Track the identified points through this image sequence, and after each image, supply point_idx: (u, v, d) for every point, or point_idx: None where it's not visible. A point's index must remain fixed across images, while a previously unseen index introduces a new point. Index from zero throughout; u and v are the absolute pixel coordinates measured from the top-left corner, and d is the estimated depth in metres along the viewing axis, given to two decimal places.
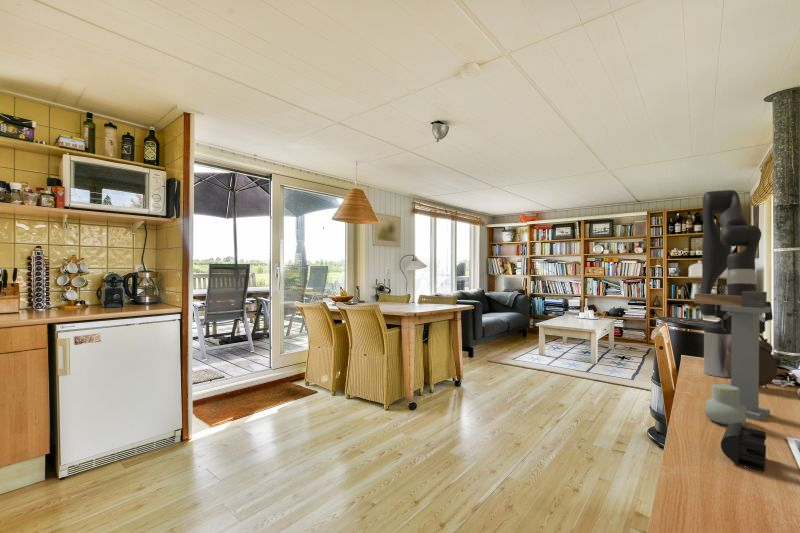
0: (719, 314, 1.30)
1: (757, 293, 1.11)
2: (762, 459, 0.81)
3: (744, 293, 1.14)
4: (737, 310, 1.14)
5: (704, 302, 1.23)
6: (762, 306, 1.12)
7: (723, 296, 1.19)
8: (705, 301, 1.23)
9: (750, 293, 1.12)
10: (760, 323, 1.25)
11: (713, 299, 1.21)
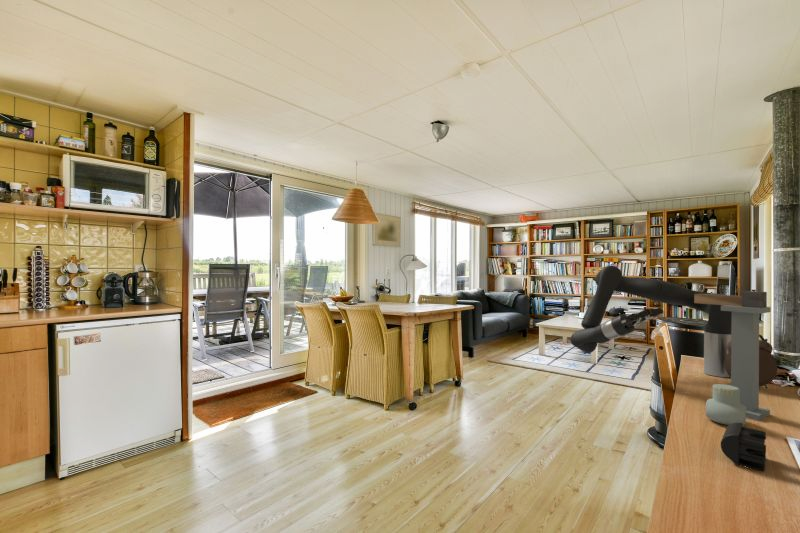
0: (652, 318, 1.47)
1: (757, 293, 1.11)
2: (762, 459, 0.81)
3: (744, 293, 1.14)
4: (737, 310, 1.14)
5: (704, 302, 1.23)
6: (762, 306, 1.12)
7: (723, 296, 1.19)
8: (705, 301, 1.23)
9: (750, 293, 1.12)
10: None
11: (713, 299, 1.21)
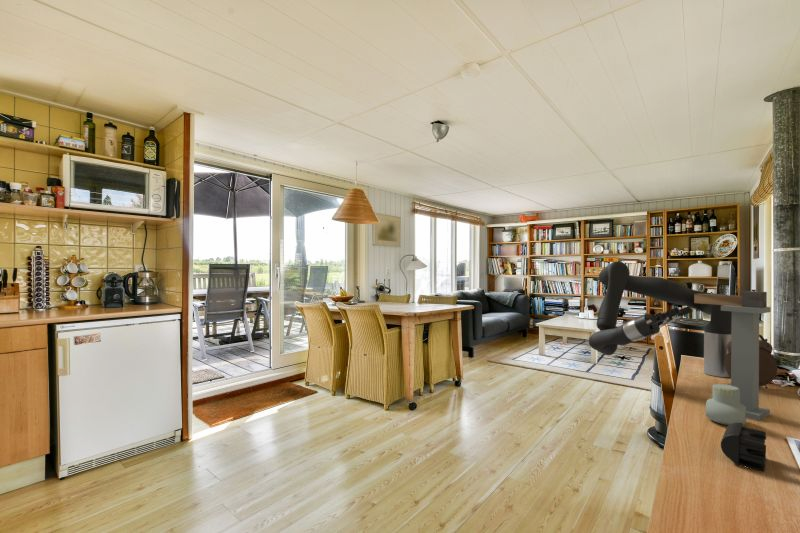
0: (679, 318, 1.36)
1: (757, 293, 1.11)
2: (762, 459, 0.81)
3: (744, 293, 1.14)
4: (737, 310, 1.14)
5: (704, 302, 1.23)
6: (762, 306, 1.12)
7: (723, 296, 1.19)
8: (705, 301, 1.23)
9: (750, 293, 1.12)
10: None
11: (713, 299, 1.21)
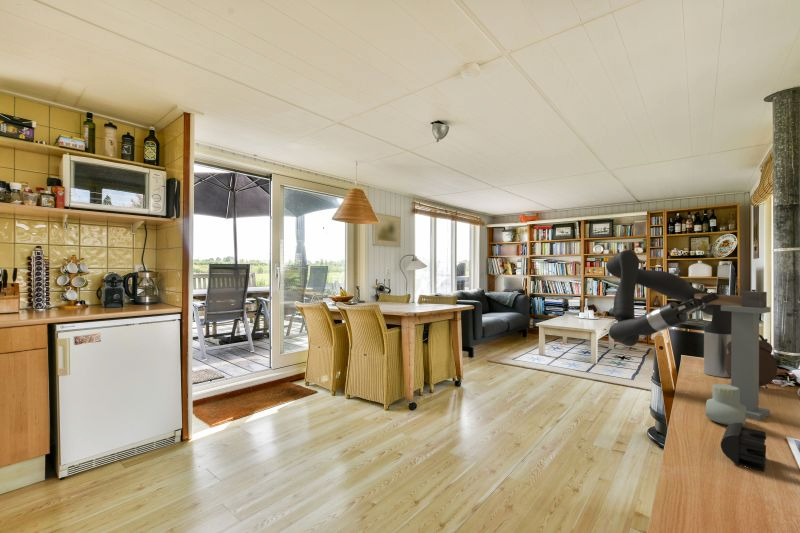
0: (708, 305, 1.27)
1: (757, 293, 1.11)
2: (762, 459, 0.81)
3: (744, 293, 1.14)
4: (737, 310, 1.14)
5: None
6: (762, 306, 1.12)
7: (723, 296, 1.19)
8: None
9: (750, 293, 1.12)
10: None
11: None
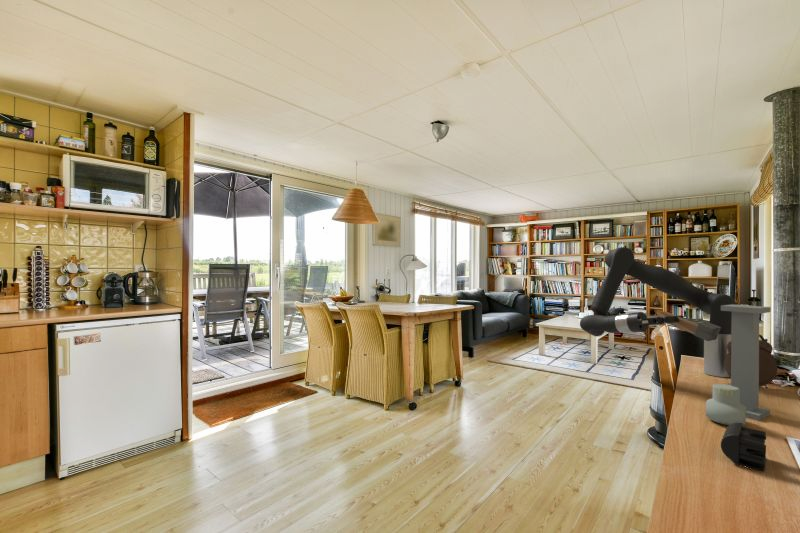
0: None
1: (710, 329, 1.24)
2: (762, 459, 0.81)
3: (700, 325, 1.26)
4: (737, 310, 1.14)
5: None
6: (711, 339, 1.26)
7: (683, 321, 1.32)
8: None
9: (705, 327, 1.25)
10: None
11: None
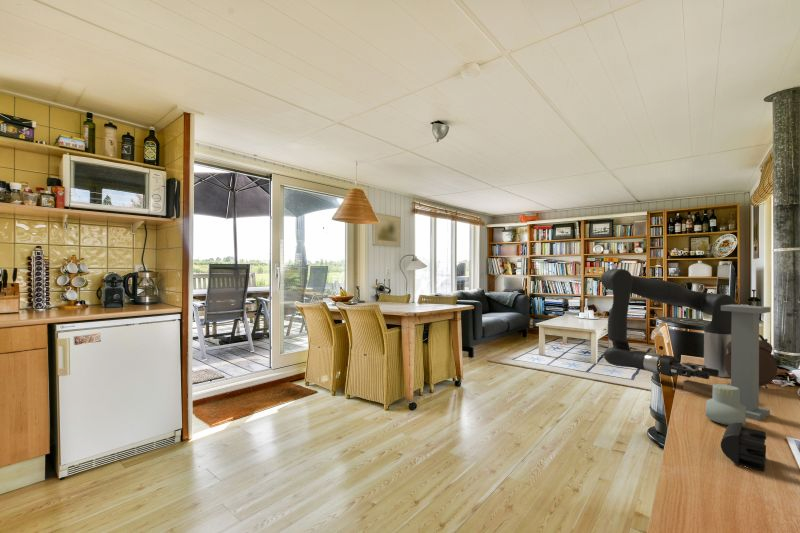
0: None
1: None
2: (762, 459, 0.81)
3: None
4: (737, 310, 1.14)
5: (692, 390, 1.36)
6: None
7: (709, 387, 1.32)
8: (693, 389, 1.36)
9: None
10: None
11: (700, 388, 1.34)
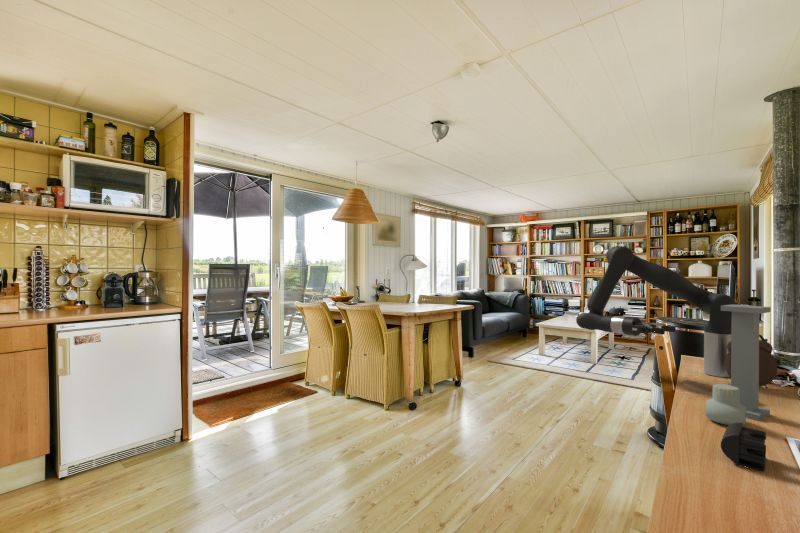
0: None
1: None
2: (762, 459, 0.81)
3: None
4: (737, 310, 1.14)
5: (692, 390, 1.36)
6: None
7: (709, 387, 1.32)
8: (693, 389, 1.36)
9: None
10: None
11: (700, 388, 1.34)
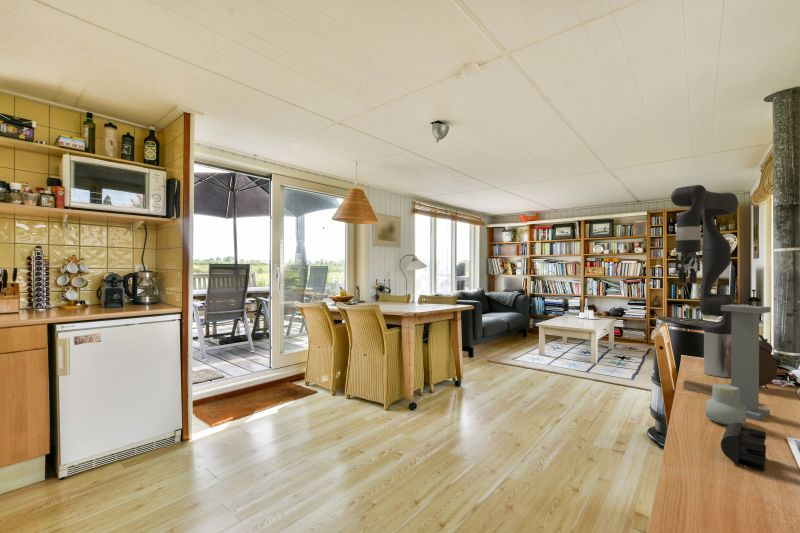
0: None
1: None
2: (762, 459, 0.81)
3: None
4: (737, 310, 1.14)
5: (692, 390, 1.36)
6: None
7: (709, 387, 1.32)
8: (693, 389, 1.36)
9: None
10: None
11: (700, 388, 1.34)
